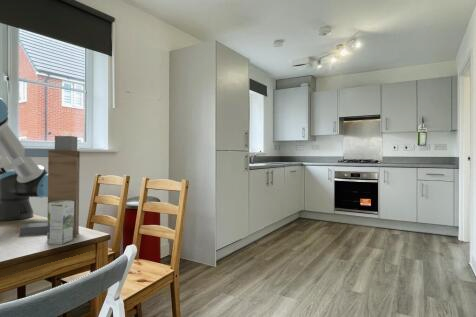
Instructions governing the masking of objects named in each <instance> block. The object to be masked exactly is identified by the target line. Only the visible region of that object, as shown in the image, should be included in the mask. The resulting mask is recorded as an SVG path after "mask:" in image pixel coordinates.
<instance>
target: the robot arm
mask: <svg viewBox="0 0 476 317" xmlns="http://www.w3.org/2000/svg"><path fill="white" fill-rule="evenodd" d="M8 110H9V108H8V106H7V103H6V101H5V100H4V99H3V98H2V97H0V156H1V157H2V158H0V221H15V220H16V221H17V220H24V219H28V218H32V217H34V210H33V207H32V204H31V202H30V198H40V199H41V198H48V172H47V170H46V168H45V167H44V166H43V165H39V164H37V163H36V161H35V159H34V157H25V148H26V147H25V146H24V145H23V144H22V142H21V141H20V139H19V138H18V136H17V135H16V133H15V132H14V130H12V128H11V127H10V125H9V124H8V122H9V120H10V118H9V117H8V115H9V112H8Z"/></svg>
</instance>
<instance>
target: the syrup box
mask: <svg viewBox="0 0 476 317" xmlns="http://www.w3.org/2000/svg"><path fill="white" fill-rule="evenodd" d="M47 223H48V236H47V237H46V238H47V242H46V243H47V244H48V245H64V244H67V243H69V242H72V241H74V238H73V229H74V201H70V200H60V201H55V202H50V203H49V204H48V203H47Z"/></svg>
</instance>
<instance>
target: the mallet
mask: <svg viewBox="0 0 476 317" xmlns="http://www.w3.org/2000/svg"><path fill="white" fill-rule="evenodd" d="M48 150H58V151H78V136H74V135H54V148H36V147H35V148H32V147H31V148H27V147H25V157H32V158H48Z"/></svg>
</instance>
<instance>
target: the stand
mask: <svg viewBox="0 0 476 317" xmlns="http://www.w3.org/2000/svg"><path fill="white" fill-rule="evenodd" d="M80 153H81V152H80V151H79V150H77V151H58V150H48V157H47V158H48V159H47V160H48V163H47V165H48V166H47V167H48V172H47V173H48V197H47V205H48V204H49V203H50V202H55V201H60V200H70V201H74V229H73V239H76V238H77V236H78V234H79V232H80V231H79V230H80V227H79V226H80V225H79V224H80V162H81V161H80V157H81V155H80ZM46 235H47V236H48V226H47V234H46Z"/></svg>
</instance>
